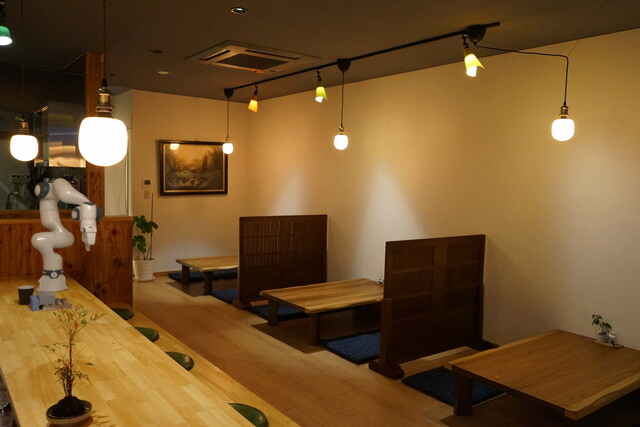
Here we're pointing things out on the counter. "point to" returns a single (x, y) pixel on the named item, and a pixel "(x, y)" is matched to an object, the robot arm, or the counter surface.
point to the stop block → (34, 303)
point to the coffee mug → (25, 294)
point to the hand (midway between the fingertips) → (87, 250)
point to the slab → (46, 297)
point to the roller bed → (58, 305)
